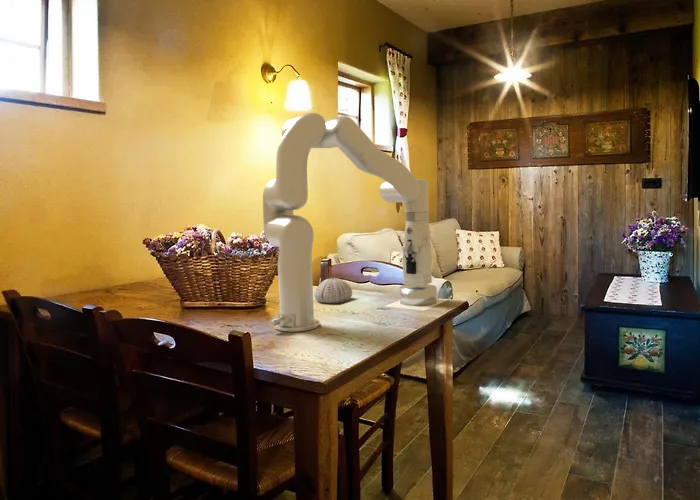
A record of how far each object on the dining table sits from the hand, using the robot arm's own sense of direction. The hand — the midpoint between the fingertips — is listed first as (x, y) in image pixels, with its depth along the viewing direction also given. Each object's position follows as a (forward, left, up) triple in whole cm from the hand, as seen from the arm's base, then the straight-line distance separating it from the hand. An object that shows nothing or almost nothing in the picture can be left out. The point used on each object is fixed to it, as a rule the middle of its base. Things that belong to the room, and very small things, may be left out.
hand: (417, 271), depth 174 cm
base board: (-1, 0, -11) cm, 11 cm away
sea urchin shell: (-6, +30, -11) cm, 33 cm away
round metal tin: (0, 0, -10) cm, 10 cm away
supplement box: (0, 0, -4) cm, 4 cm away
